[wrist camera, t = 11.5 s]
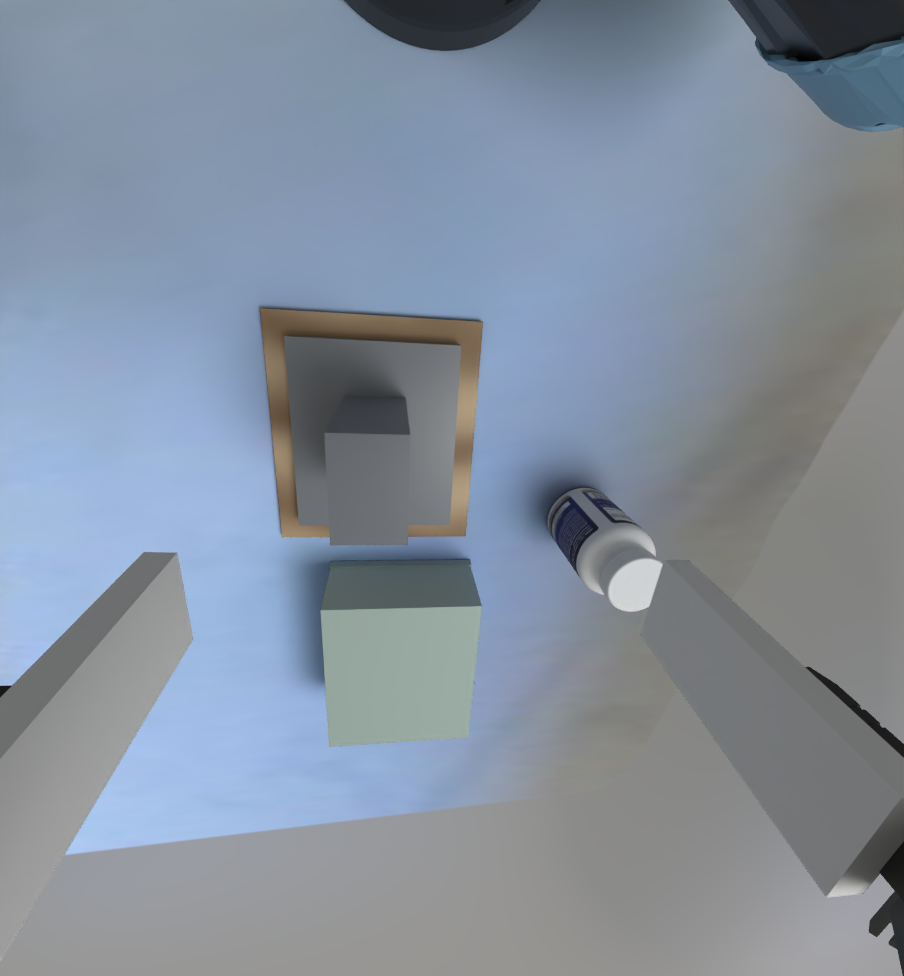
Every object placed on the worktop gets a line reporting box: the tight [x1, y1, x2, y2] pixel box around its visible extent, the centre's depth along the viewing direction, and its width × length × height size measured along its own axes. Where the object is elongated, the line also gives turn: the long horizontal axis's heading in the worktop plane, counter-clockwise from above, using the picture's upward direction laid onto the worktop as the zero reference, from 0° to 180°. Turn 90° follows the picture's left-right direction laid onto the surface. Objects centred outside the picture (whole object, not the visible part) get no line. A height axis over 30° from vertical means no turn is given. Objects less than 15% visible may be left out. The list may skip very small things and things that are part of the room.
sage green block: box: [320, 560, 482, 747], centre depth 36 cm, size 13×11×6 cm
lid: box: [284, 335, 461, 545], centre depth 27 cm, size 13×11×10 cm
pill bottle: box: [548, 488, 663, 612], centre depth 32 cm, size 5×5×10 cm
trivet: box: [260, 308, 483, 537], centre depth 31 cm, size 16×14×1 cm
